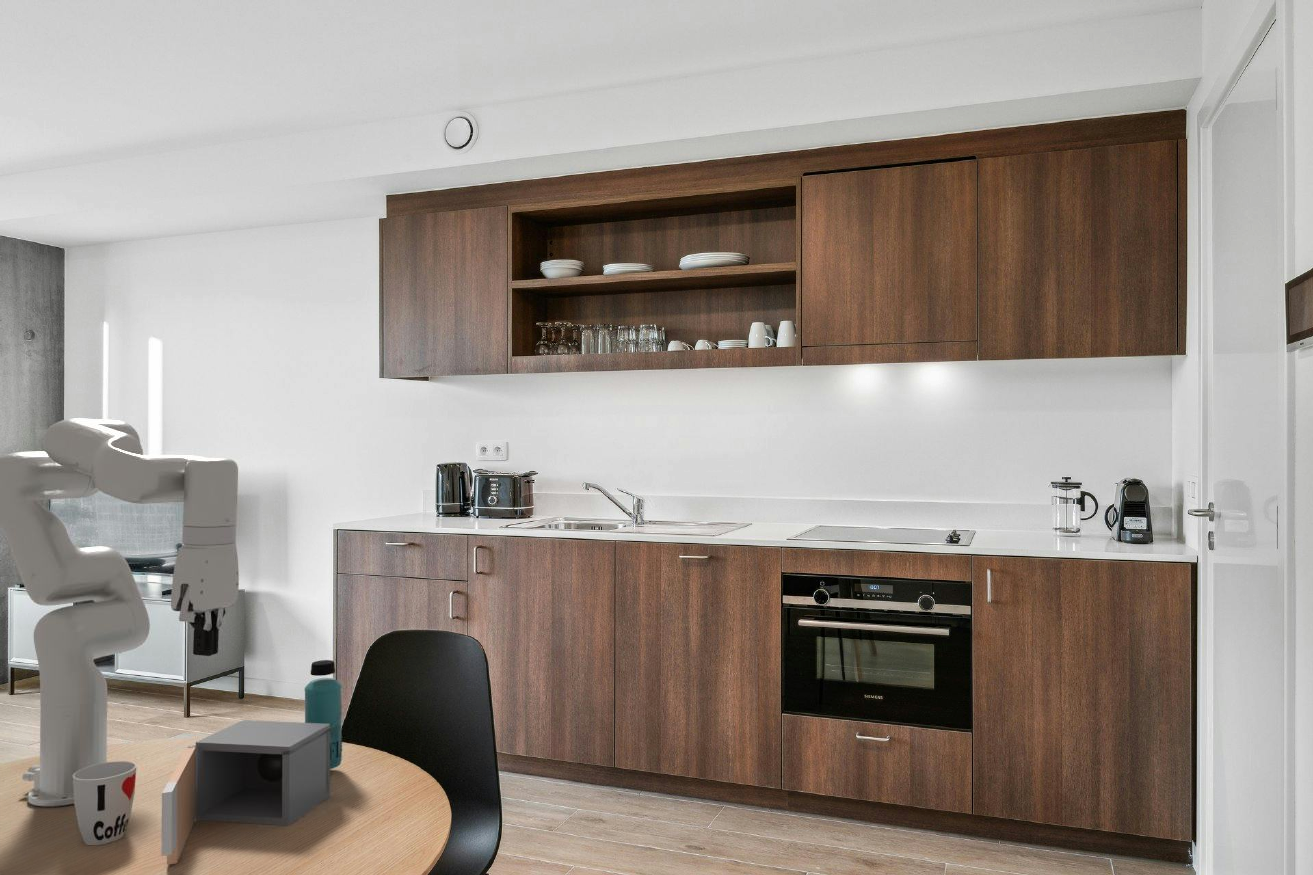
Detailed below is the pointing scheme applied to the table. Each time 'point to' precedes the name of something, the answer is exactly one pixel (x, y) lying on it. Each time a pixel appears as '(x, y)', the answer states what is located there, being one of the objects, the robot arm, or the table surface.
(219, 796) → the grey smooth box
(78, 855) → the table surface
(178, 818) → the door
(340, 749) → the beverage bottle
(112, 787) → the cup
